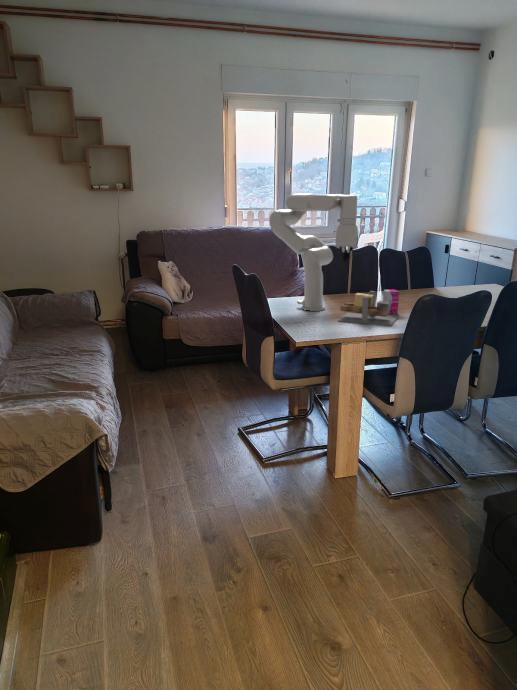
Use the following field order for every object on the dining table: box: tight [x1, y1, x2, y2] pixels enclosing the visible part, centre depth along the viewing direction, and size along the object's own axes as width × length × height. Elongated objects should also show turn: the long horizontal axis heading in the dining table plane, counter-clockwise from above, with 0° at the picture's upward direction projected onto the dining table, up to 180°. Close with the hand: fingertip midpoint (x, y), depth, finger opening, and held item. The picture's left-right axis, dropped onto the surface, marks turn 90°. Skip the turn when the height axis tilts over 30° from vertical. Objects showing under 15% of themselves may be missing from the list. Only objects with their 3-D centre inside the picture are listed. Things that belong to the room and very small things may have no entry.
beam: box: [340, 300, 390, 317], centre depth 246 cm, size 22×6×8 cm, turn 65°
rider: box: [353, 292, 374, 309], centre depth 245 cm, size 8×4×7 cm, turn 65°
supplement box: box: [382, 288, 400, 315], centre depth 258 cm, size 6×6×12 cm
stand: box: [337, 290, 398, 327], centre depth 245 cm, size 25×17×13 cm
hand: (346, 260), depth 250 cm, fingers closed
